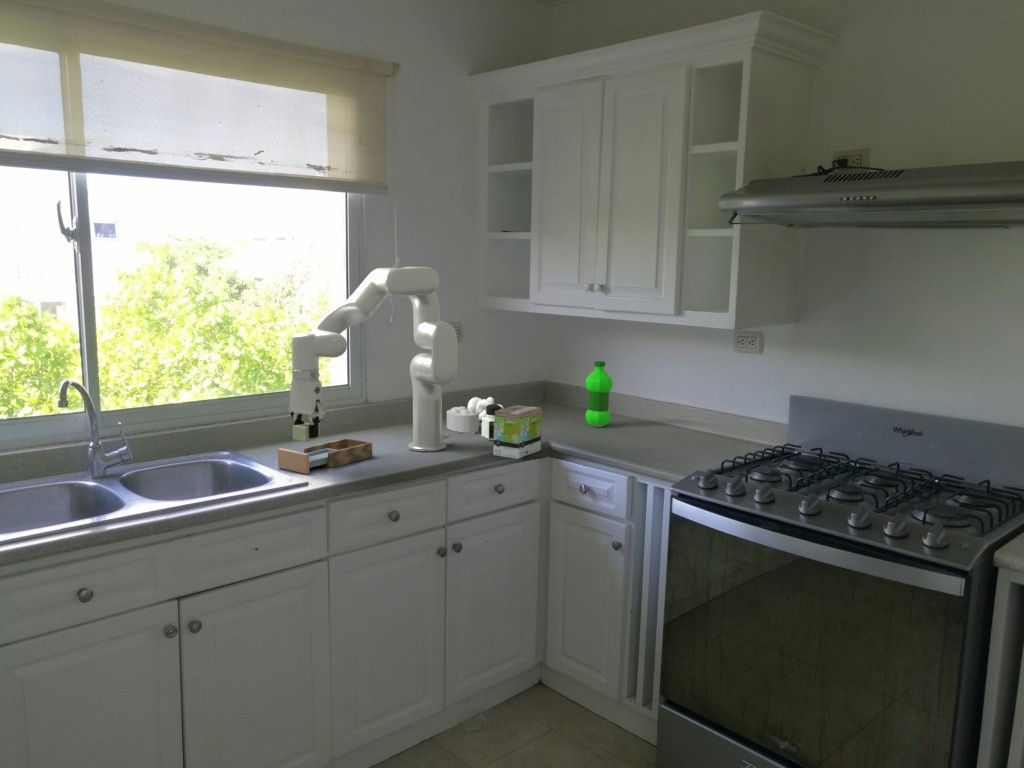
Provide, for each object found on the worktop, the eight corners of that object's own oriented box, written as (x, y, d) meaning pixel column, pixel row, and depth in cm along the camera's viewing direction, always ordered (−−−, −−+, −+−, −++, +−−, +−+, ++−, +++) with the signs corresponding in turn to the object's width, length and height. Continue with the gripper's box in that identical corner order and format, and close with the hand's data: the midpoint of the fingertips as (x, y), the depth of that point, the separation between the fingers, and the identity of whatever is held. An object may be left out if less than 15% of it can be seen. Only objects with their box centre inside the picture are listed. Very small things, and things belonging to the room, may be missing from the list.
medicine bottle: (488, 441, 275) (489, 407, 273) (481, 436, 282) (481, 403, 280) (507, 439, 278) (508, 405, 276) (499, 435, 284) (500, 402, 283)
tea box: (519, 460, 249) (520, 413, 247) (492, 455, 254) (493, 410, 252) (541, 450, 262) (542, 406, 260) (515, 447, 267) (515, 403, 265)
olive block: (307, 436, 238) (307, 423, 237) (320, 438, 235) (319, 425, 234) (292, 439, 233) (292, 425, 233) (305, 441, 230) (305, 428, 230)
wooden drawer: (324, 456, 248) (323, 438, 248) (351, 461, 242) (351, 443, 241) (278, 467, 234) (277, 449, 233) (306, 473, 227) (305, 454, 226)
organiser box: (346, 451, 256) (346, 438, 255) (372, 456, 250) (372, 442, 249) (304, 462, 241) (303, 448, 241) (329, 468, 235) (329, 453, 235)
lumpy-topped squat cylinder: (467, 426, 300) (467, 404, 298) (485, 432, 289) (485, 409, 288) (443, 429, 294) (443, 406, 293) (460, 435, 283) (460, 412, 282)
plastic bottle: (599, 422, 311) (601, 359, 307) (616, 427, 302) (618, 362, 299) (578, 424, 306) (580, 360, 302) (595, 429, 297) (597, 363, 293)
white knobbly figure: (472, 424, 305) (472, 401, 303) (463, 418, 316) (463, 396, 314) (500, 422, 309) (500, 399, 307) (489, 416, 320) (490, 395, 318)
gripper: (335, 376, 230) (336, 438, 232) (295, 371, 239) (296, 430, 242) (316, 379, 224) (317, 442, 226) (275, 373, 233) (276, 434, 235)
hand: (306, 435), depth 234 cm, fingers closed on olive block, 5 cm apart
